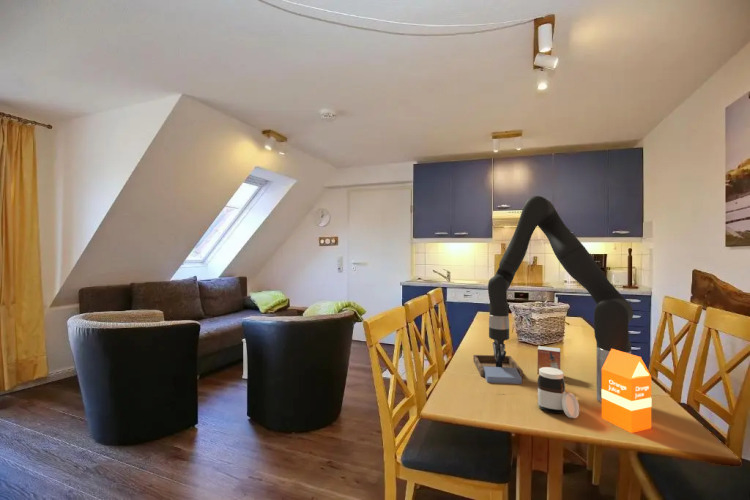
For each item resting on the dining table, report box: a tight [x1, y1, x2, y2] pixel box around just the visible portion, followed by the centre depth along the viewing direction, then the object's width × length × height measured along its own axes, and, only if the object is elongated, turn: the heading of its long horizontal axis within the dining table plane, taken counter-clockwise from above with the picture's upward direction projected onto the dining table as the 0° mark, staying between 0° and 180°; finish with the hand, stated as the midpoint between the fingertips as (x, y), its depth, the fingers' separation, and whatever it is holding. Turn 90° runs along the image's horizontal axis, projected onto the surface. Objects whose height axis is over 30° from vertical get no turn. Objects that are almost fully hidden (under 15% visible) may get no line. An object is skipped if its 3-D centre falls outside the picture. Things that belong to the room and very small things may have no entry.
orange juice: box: [601, 349, 653, 434], centre depth 100 cm, size 8×9×20 cm
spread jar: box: [537, 367, 580, 419], centre depth 108 cm, size 12×11×12 cm
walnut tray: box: [473, 354, 524, 379], centre depth 142 cm, size 18×15×4 cm
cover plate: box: [483, 366, 523, 385], centre depth 132 cm, size 9×12×2 cm
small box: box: [536, 345, 561, 375], centre depth 137 cm, size 8×6×10 cm
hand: (498, 370), depth 138 cm, fingers closed
